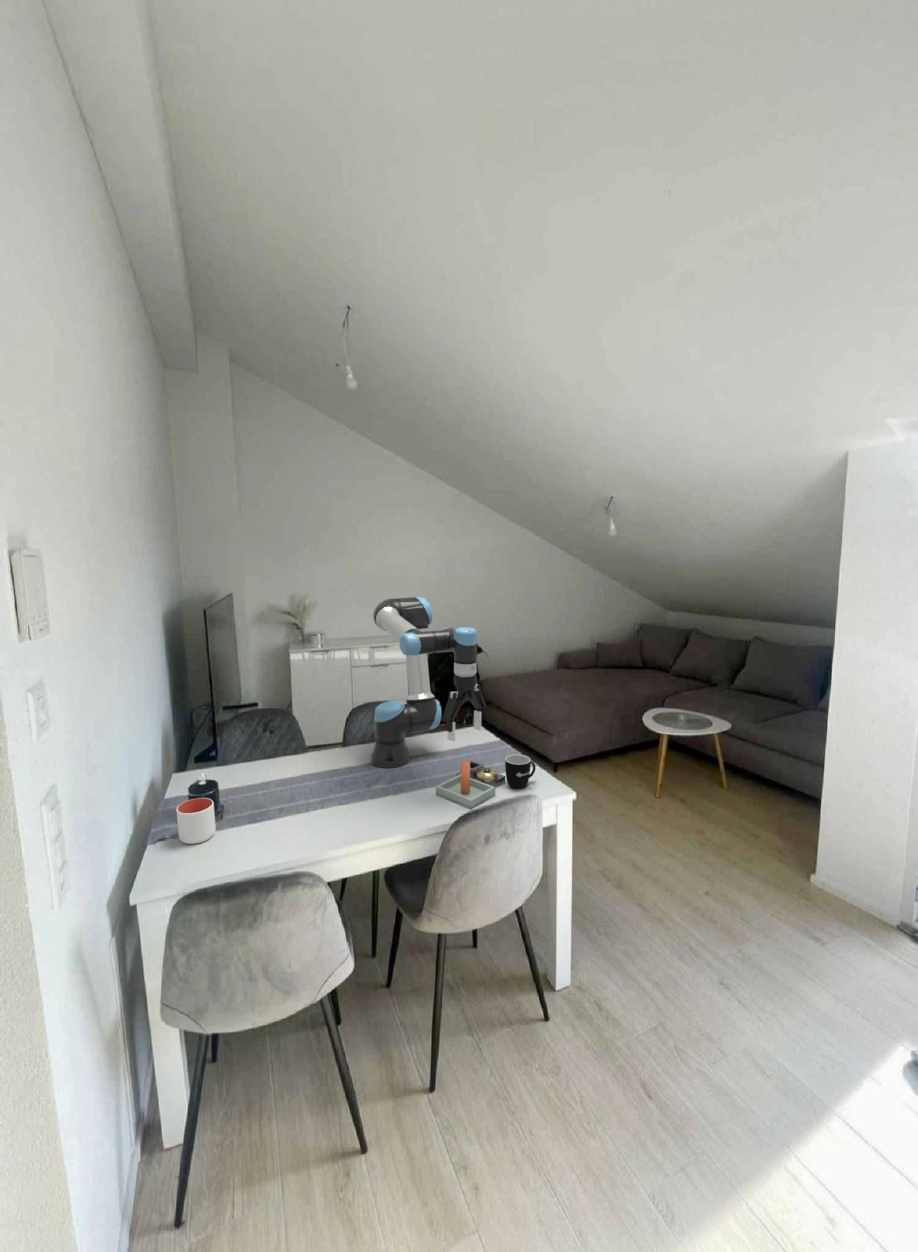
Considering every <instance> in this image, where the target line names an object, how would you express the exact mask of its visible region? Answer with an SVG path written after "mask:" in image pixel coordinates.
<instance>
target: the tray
mask: <svg viewBox="0 0 918 1252" xmlns="http://www.w3.org/2000/svg"><path fill="white" fill-rule="evenodd" d="M435 795H436V796H438V797H441V798H442V799H446V800H447V801H450V802H453V803H455V804H457V805H459V806H462V807H464V808H467V809H469V810H473V809H474V808H475V807H478V806H480V805H481V804H483V803H485V802H486V801H488V800H490V799H492V798H493V797H495V796H496V788H495V787H493V786H490V785H488V784H485V783H482V782H480V781H477V780H474V779H471V778H470V794H469V795H462V794H461V774H460V775H458V776H456V775H455V776H454V777H452V778H450V779H448V780H446V781H444V782H442V783H440V784H438V785H436V786H435Z"/></svg>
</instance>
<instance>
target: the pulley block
mask: <svg viewBox="0 0 918 1252" xmlns="http://www.w3.org/2000/svg"><path fill="white" fill-rule="evenodd" d="M469 762H470V778H471V779H474V780H477V781H480V782H482V783H485V784H488V785H490V786H493V787H495V789H496V788H498V787H500V786H501V785H503V784H505V783H506V775H503V774H501V773H499V771H498V769H496V768H494V767H491V766H490V767H489V766H488V767H487V766H485V764H482V763H479V762H477V761H473V760H469ZM459 768H460V769H459V770H460V771H459V772H456V773H455V777H456V776H458V775H460V774H461V765H460V767H459Z"/></svg>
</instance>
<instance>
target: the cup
mask: <svg viewBox="0 0 918 1252" xmlns="http://www.w3.org/2000/svg"><path fill="white" fill-rule="evenodd" d="M175 810H176V821H177V830H178V838H179V839H178V840H179V841H180V842H182V843H184V844H186V845H187V844H189V845H195V844H200V843H204V842H206V841H208V840H209V839H211V838H212V837H213V836H214V835H215V833H216V829H217V827H216V817H215V815H216V814H215V804H214V801H213V800H212V799H211V798H208V797H198V798H193V799H190V800H189V799H188V800H186V801H184V802H181V803H180V804H179V805H178V806H177V807H176V809H175Z"/></svg>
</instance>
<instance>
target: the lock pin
mask: <svg viewBox="0 0 918 1252" xmlns="http://www.w3.org/2000/svg"><path fill="white" fill-rule="evenodd" d="M469 761H470V760H469ZM469 761H468V760H462V761H461V762H460V766H461V794H462V795H469V794H470V762H469Z"/></svg>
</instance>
